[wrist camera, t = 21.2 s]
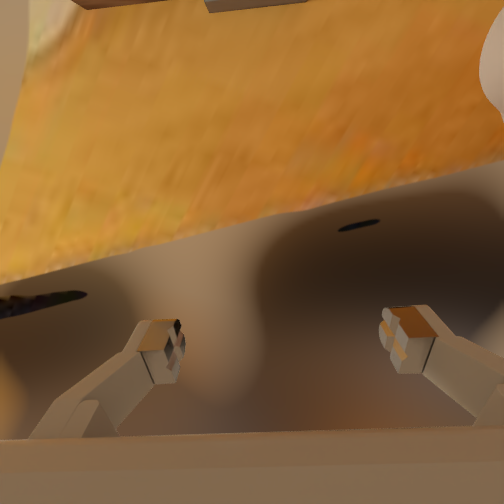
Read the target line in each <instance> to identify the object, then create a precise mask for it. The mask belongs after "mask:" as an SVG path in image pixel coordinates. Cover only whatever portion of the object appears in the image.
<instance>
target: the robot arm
mask: <svg viewBox="0 0 504 504" xmlns="http://www.w3.org/2000/svg"><path fill="white" fill-rule="evenodd" d="M479 75H480V82H481V86H482V89H483V91H484V93H485V95H486V97H487V98H488V100H489V101H490V102H491V103H492V104H493V105H494V106H495V107H496V108H497V109H498V110H499V111H500V113H501V115H502V119H503V122H504V7H503V9H502V10H501V11H500V13H499V14H498V16H497V18H496V19H495V21H494V23H493V25H492V26H491V28H490V31H489V33H488V35H487V37H486V40H485V43H484V46H483V49H482V53H481V58H480V67H479ZM382 317H383V318H384V321H383V322H382V323H381V324H380V327H379V335H380V339H381V343H382V344H383V346H384V348H385V349H386V350H388V351H390V352H391V355H390V359H391V361H392V363H393V365H394V367H395V368H396V370H397V372H398V373H399V374H403V373H404V374H405V373H423V375H424V376H425V377H426V378H428V379H429V380H430V381H431V382H432V383H434V384H435V385H436V386H437V387H439V388H440V389H441V390H442V391H444V392H445V393H446V394H447V395H449V396H450V397H451V398H452V399H454V400H455V401H456V402H457V403H458V404H460V405H461V406H462V407H463V408H465V409H466V410H467V411H468V412H470V413H471V414H472V415H473V416H475V417H476V418H477V419H476V421H475V423H474V424H473V426H449V427H417V428H388V429H387V428H386V429H354V430H324V431H323V430H322V431H292V432H291V431H290V432H289V431H288V432H256V433H227V434H226V433H224V434H192V435H158V436H125V437H121V436H120V435H119V433H118V432H117V430H116V428H117V427H118V426H119V425H120V424H121V422H122V421H123V420H124V419H125V418H126V417H127V416H128V415H129V413H130V412H131V411H132V410H133V409H134V408H135V407H136V405H137V404H138V403H139V402H140V401H141V400H142V399H143V397H144V396H145V395H146V394H147V393H148V392H149V391H150V390H151V388H152V387H153V386H154V384H166V383H176V380H177V376H178V373H179V370H180V365H179V361H180V360H181V359H182V358H183V356H184V353H185V345H186V343H185V337H184V334H183V333H182V332H181V331H180V329H181V324H180V320H178V319H162V320H142V321H140V322H139V323H138V325H137V327H136V329H135V330H134V332H133V334H132V336H131V337H130V339H129V341H128V343H127V344H126V346H125V348H124V350H123V352H122V353H117V354H116V355H115V356H113V357H112V358H111V359H109V360H108V361H107V362H105V363H104V364H103V365H102V366H100V367H98V368H97V369H96V370H95V371H93V372H92V373H90V374H89V375H88V376H87V377H85V378H84V379H82V380H81V381H80V382H78V383H77V384H76V385H74V386H73V387H72V388H70V389H69V390H68V391H66V392H65V393H64V394H62V395H61V396H60V397H58V398H57V399H55V401H54V402H53V403H52V405H51V406H50V408H49V409H48V410H47V412H46V413H45V415H44V417H43V418H42V419H41V420H40V422H39V423H38V425H37V426H36V428H35V429H34V431H33V432H32V433H31V435H30V436H29V438H28V439H27V440H26V439H24V440H0V504H504V358H502V357H500V356H498V355H496V354H494V353H492V352H490V351H488V350H486V349H484V348H482V347H480V346H478V345H476V344H474V343H472V342H470V341H469V340H467V339H465V338H463V337H461V336H458V337H457V336H455V335H454V334H453V333H452V332H451V330H450V329H449V328H448V327H447V326H446V325H445V324H444V323H443V322H442V321H441V319H440V318H439V317H438V316H437V315H436V314H435V313H434V312H433V311H432V309H431V308H430V307H429V306H427V305H415V306H402V307H386V308H384V310H383V312H382Z"/></svg>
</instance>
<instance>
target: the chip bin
mask: <svg viewBox="0 0 504 504" xmlns="http://www.w3.org/2000/svg"><path fill="white" fill-rule="evenodd" d="M306 1H307V0H204V2H205V4H206V7H207V9H208V11H209V13H215V12H224V11H233V10H241V9H250V8H259V7H267V6H276V5H285V4H293V3H302V2H306Z"/></svg>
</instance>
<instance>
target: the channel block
mask: <svg viewBox="0 0 504 504" xmlns="http://www.w3.org/2000/svg"><path fill="white" fill-rule="evenodd" d="M71 1H73V2H75V3H76V4H78V5H80V6H81V7H83V8H85V9H86V10H90V9H98V8H107V7H115V6H123V5H132V4H140V3H148V2H157V1H165V0H71Z"/></svg>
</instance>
